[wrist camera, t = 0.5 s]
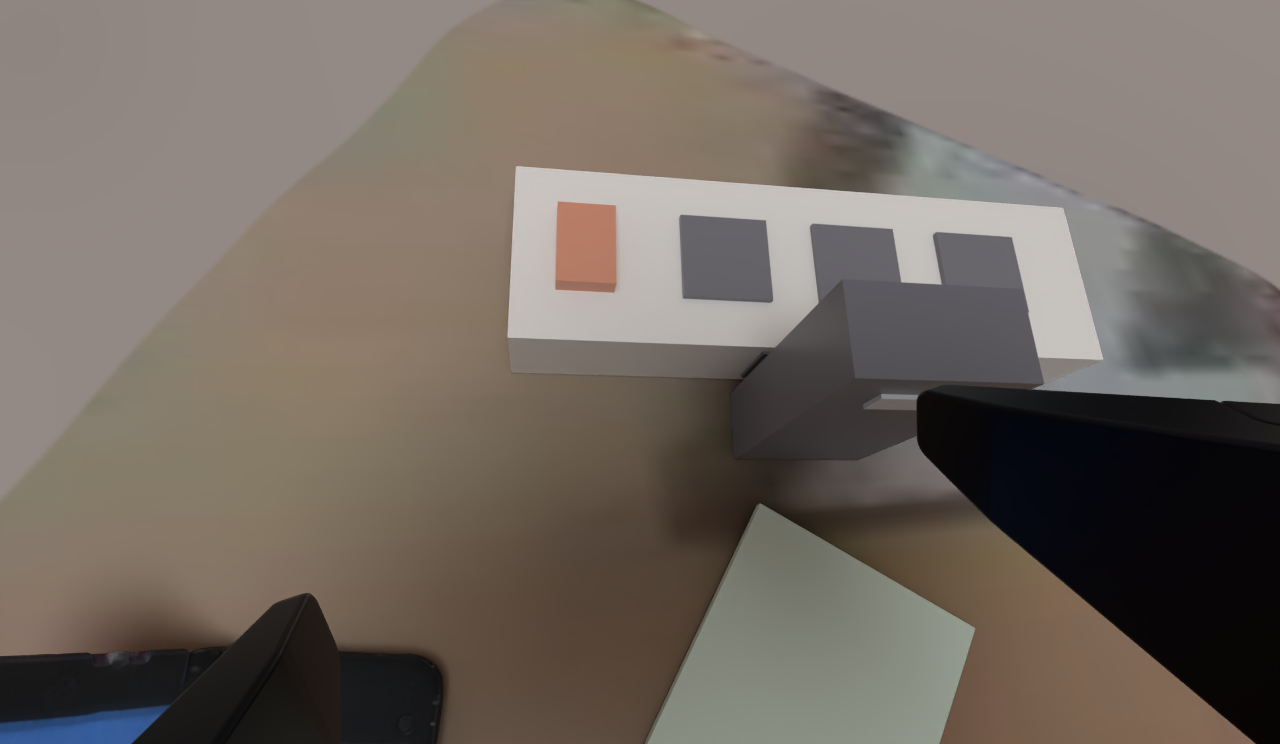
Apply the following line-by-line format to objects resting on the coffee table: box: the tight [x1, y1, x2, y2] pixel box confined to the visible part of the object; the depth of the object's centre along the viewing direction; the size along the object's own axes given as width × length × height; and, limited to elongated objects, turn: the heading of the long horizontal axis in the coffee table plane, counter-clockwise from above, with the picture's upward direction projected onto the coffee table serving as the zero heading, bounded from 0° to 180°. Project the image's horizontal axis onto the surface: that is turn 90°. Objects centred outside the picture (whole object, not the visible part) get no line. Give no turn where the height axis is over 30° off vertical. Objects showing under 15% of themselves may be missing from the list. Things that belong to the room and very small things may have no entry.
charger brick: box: [730, 279, 1044, 460], centre depth 21 cm, size 3×5×10 cm, turn 91°
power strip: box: [508, 166, 1103, 388], centre depth 25 cm, size 22×7×4 cm, turn 91°
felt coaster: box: [644, 503, 975, 744], centre depth 22 cm, size 9×9×1 cm
